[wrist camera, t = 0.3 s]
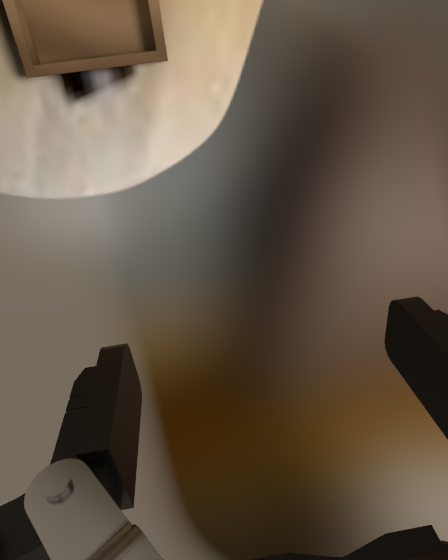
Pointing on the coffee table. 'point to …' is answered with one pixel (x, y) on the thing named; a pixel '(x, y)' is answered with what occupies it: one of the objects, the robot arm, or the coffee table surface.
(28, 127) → the coffee table surface
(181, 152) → the coffee table surface
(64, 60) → the trough
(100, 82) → the coffee table surface
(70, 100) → the coffee table surface
